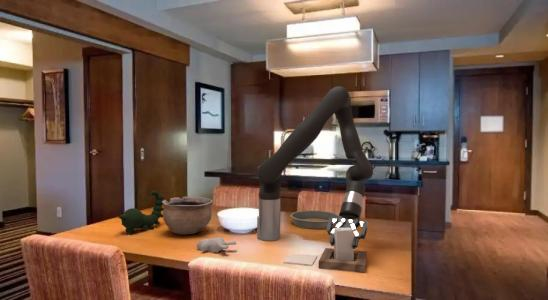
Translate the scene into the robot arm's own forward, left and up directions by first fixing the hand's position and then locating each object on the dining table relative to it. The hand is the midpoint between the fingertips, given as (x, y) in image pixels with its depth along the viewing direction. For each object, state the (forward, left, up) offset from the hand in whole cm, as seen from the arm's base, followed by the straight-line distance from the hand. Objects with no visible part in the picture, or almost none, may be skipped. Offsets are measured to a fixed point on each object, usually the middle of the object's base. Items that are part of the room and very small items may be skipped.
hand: (342, 246), depth 130 cm
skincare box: (0, +2, -7) cm, 7 cm away
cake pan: (-20, +57, -7) cm, 60 cm away
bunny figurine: (-48, +2, -7) cm, 49 cm away
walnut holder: (0, +2, -6) cm, 6 cm away
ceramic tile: (-15, +1, -6) cm, 16 cm away
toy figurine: (-95, +21, -7) cm, 97 cm away
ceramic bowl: (-72, +23, -7) cm, 76 cm away
